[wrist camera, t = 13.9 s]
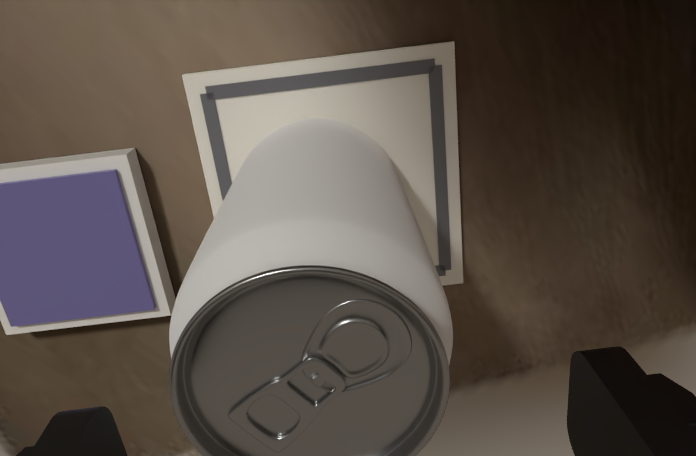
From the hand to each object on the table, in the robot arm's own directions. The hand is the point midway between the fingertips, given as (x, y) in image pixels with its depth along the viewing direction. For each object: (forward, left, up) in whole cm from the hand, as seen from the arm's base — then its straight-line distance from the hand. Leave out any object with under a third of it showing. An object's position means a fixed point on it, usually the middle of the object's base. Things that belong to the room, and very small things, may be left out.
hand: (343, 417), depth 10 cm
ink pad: (+1, -11, -14) cm, 17 cm away
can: (0, -1, -14) cm, 14 cm away
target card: (0, 0, -14) cm, 14 cm away
